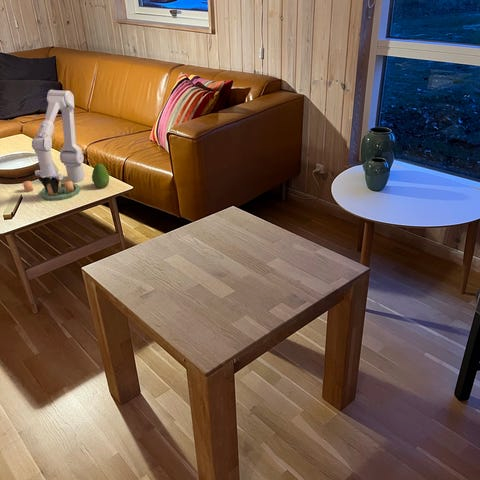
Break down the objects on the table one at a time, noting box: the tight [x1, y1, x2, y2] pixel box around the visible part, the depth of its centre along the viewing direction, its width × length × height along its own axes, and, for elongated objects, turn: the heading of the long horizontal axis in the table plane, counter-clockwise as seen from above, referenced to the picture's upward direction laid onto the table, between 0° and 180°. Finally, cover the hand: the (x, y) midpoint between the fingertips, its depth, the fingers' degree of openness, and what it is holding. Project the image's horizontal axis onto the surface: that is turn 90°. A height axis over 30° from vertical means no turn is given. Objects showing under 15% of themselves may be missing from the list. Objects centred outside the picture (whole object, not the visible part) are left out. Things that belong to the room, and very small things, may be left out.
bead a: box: [63, 180, 74, 194], centre depth 216 cm, size 4×4×5 cm
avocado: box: [91, 163, 110, 189], centre depth 221 cm, size 8×8×12 cm
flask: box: [52, 159, 59, 173], centre depth 240 cm, size 7×7×10 cm
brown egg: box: [22, 180, 34, 193], centre depth 218 cm, size 4×4×5 cm
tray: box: [39, 182, 81, 201], centre depth 217 cm, size 17×17×2 cm
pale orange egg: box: [47, 184, 57, 196], centre depth 212 cm, size 4×4×5 cm
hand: (52, 191), depth 212 cm, fingers closed on pale orange egg, 4 cm apart
